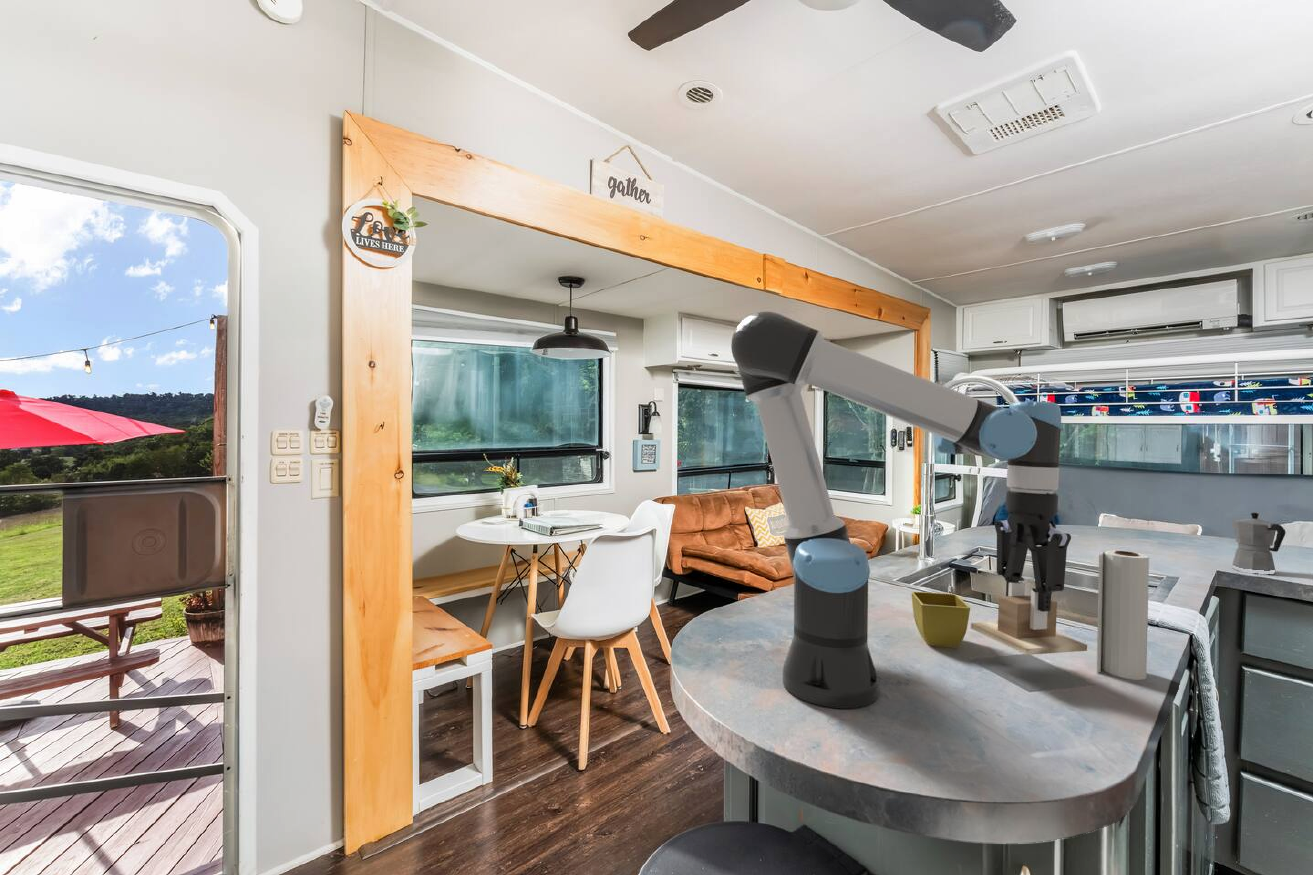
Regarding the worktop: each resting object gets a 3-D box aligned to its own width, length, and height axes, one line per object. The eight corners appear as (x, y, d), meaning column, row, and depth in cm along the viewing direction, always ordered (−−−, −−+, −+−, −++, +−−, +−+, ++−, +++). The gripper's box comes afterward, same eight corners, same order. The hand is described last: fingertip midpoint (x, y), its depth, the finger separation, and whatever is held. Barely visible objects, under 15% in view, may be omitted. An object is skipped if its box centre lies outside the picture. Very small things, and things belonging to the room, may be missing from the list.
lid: (1026, 654, 91) (1027, 612, 91) (970, 628, 103) (972, 590, 102) (1086, 650, 93) (1088, 609, 93) (1025, 625, 105) (1027, 588, 105)
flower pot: (970, 654, 106) (971, 607, 106) (921, 650, 108) (921, 604, 108) (955, 637, 115) (956, 593, 115) (910, 633, 117) (910, 591, 116)
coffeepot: (1217, 565, 178) (1218, 509, 178) (1249, 566, 177) (1250, 509, 177) (1265, 578, 163) (1267, 516, 162) (1300, 579, 162) (1302, 517, 162)
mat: (1028, 694, 90) (1029, 691, 90) (968, 661, 103) (968, 658, 103) (1094, 687, 93) (1094, 684, 93) (1028, 655, 106) (1028, 653, 106)
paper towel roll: (1142, 671, 99) (1144, 551, 99) (1150, 685, 94) (1153, 558, 93) (1091, 662, 103) (1093, 546, 102) (1096, 675, 97) (1099, 553, 97)
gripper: (1097, 496, 90) (1091, 641, 90) (1009, 485, 107) (1005, 607, 107) (1058, 496, 88) (1052, 643, 89) (976, 485, 105) (971, 608, 105)
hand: (1026, 623), depth 98 cm, fingers closed on lid, 4 cm apart
